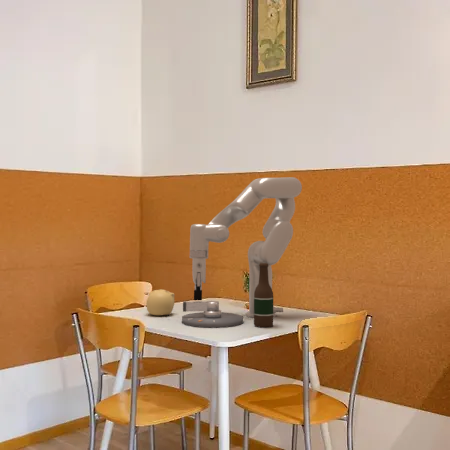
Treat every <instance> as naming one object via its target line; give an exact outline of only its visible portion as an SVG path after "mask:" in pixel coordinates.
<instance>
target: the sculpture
mask: <svg viewBox="0 0 450 450" xmlns="http://www.w3.org/2000/svg"><path fill="white" fill-rule="evenodd" d="M145 306H146V310H147V312H148V314H149V315H153V316H166V315H170V314H172V312H173V310H174V307H175V293H174V292H170V291H169V290H166V289H164V288H163V289H161V288H160V289H154V290H152V291H150V292H148V297H147V299H146V303H145Z"/></svg>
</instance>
